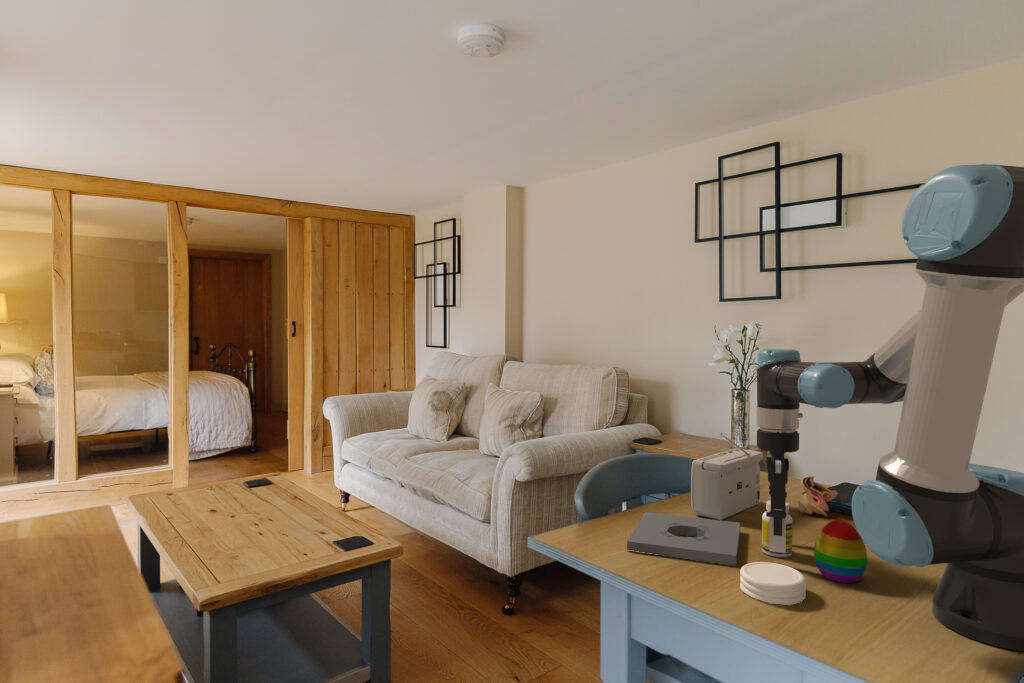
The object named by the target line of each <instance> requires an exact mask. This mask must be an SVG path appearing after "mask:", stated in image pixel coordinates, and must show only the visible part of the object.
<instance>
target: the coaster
mask: <svg viewBox="0 0 1024 683" xmlns="http://www.w3.org/2000/svg"><path fill="white" fill-rule="evenodd" d="M739 574H740V576H739V580H740V583H739V588H740V590H741V591H743V592H744V593H746V594H747V595H749V596H751V597H753V598H756V599H759V600H762V601H765V602H769V603H776V604H796V603H799V604H801V603H802V601H803V600H804V599H805V600H806V598H807V594H806V590H807V587H806V586H807V585H806V583H807V580H806V577H805V576H804V574H803V573H802V572H800V571H799V570H797V569H795V568H793V567H791V566H788V565H784V564H781V563H775V562H769V561H768V562H767V561H755V562H754V561H753V562H749V563H746V564H744V565H743V566H741V568H740V570H739ZM744 593H743V594H744ZM746 594H745V595H746ZM747 595H746V596H747ZM749 596H748V597H749ZM805 600H804V601H805ZM804 601H803V602H804ZM800 602H801V603H800ZM796 605H797V604H796Z"/></svg>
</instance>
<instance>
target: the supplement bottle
mask: <svg viewBox="0 0 1024 683" xmlns="http://www.w3.org/2000/svg"><path fill="white" fill-rule="evenodd" d="M765 504H766V505H765V509H766V511H764V512H763V513H762V515H761V552H763V553H764V554H765V555H766V556H770V557H774V558H775V557H776V558H789V557H791V555H792V553H793V518H792V516H791V515H790V514H789V512H790V511H789V510H790V509H789V508H790V507H789V506H790V504H789V503H788V502H786V551H785V553H779V552H771V551H769V537H770V517H766V512H770V511H771V500H769V499H768V500H767V501H766V502H765ZM774 510H781V509H774ZM781 511H782V510H781Z"/></svg>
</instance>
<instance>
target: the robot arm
mask: <svg viewBox="0 0 1024 683" xmlns="http://www.w3.org/2000/svg"><path fill="white" fill-rule="evenodd" d="M903 213H904V214H903V218H902V220H901V221H902V222H901V233H902V239H904V240H906V243H905V245H906V248H907V249H908V250H909V251H910V252H911V253H912V254H913V255H914V256H916V257H917V259H916V265H915V273H917V275H918V276H919V277H920V278H921V279H922V280H923V282H924V283H925V289H924V293H923V294H924V295H923V300H922V305H921V308H920V310H918V311H917V312H916V313H915V314H914V315H913V316H912V317H911V318H910V319H909V320H908V321H907V322H906V323H904V325H902V327H900V328H899V329H898V330H897V331H896V332H895V333H894V334H893V335H892V336H891V337H890V338H889V339H888V340H887V341H885V343H883V344H882V345H881V346H880V347H879V348H878V349H877V350H875V351H874V353H873V354H871V355H870V356H869V357H868V358H867V359H866V360H864V361H845V362H844V361H842V362H841V361H839V362H836V361H833V362H832V361H830V362H813V361H812V362H811V361H802V360H801V354H800V352H799V351H798V350H797V349H794V348H793V349H791V348H790V349H789V348H765V349H762V350H760V351H759V352H758V354H757V367H756V370H755V371H756V402H757V405H756V426H757V427H759V428H758V429H757V430H756V447H757V448H758V449H760V450H761V451H764V452H769V455H770V456H766V457H765V459H766V469H767V481H768V483H769V486H768V489H769V491H768V492H769V497H768V501H769V500H771V511H770V512H766V511H765V512H766V517H770V537H769V551H771V552H779V553H785V551H786V503H787V502H786V501H787V500H786V499H787V498H788V493H787V491H786V485H787V484H788V481H789V478H788V477H789V473H788V472H789V470H790V461H789V458H785V453H790V454H791V453H796V452H798V451H799V449H800V433H799V432H798V429H799V428H800V419H802V418H804V414H803V413H802V412H800V407H801V406H800V403H801V404H803V405H808V406H813V407H815V408H820V409H822V408H826V409H827V408H828V409H837V408H842V407H843V406H844V405H859V404H860V405H861V404H862V405H863V404H868V405H869V404H882V405H891V404H894V403H898V402H899V403H900V402H902V407H901V412H900V418H899V422H898V427H897V433H896V439H895V444H894V448H893V449H894V450H893V451H891V452H889V453H886V454H884V455H882V456H880V459H878V466H877V469H876V475H875V479H874V480H871V479H870V480H867V481H865V482H863V483H862V484H860V485H858V486H857V487H856V488H855V490H854V492H853V493H852V494H853V495H852V498H851V514H852V519H853V522H854V525H855V527H856V528H855V529H856V530H857V532H858V533H859V535H860V536H861V538H862V540H863V542H864V545H865V546H866V547H868V549H869V550H870V551H871V552H872V553H873V554H874V555H875V556H876V557H878V558H879V559H881V561H884V562H886V563H887V564H889V565H893V566H895V567H896V566H897V567H915V568H924V567H928V566H932V565H940V564H941V565H942V564H946V566H945V568H944V570H943V572H942V575H941V577H940V580H939V582H938V583H937V586H936V587H935V591H934V593H933V595H932V605H931V607H932V611H931V612H932V614H933V616H934V618H935V620H937V621H938V622H940V623H941V625H943V626H945V627H947V628H948V629H950V630H951V631H954V632H955V633H957V634H961V635H962V636H964V637H967V638H969V639H972V640H975V641H977V642H981V643H984V644H988V645H990V646H995V647H998V648H1003V649H1008V650H1012V651H1013V650H1014V651H1021V652H1024V472H1020V471H1017V470H1012V469H1011V470H1010V469H1006V468H1001V467H994V466H989V465H985V464H983V465H982V464H977V463H970V462H971V457H972V454H973V448H974V443H975V439H976V436H977V431H978V426H979V422H980V419H981V413H982V410H983V409H982V408H983V406H984V405H983V403H984V400H985V395H986V392H987V391H986V390H987V387H988V382H989V377H990V374H991V369H992V365H993V364H992V363H993V360H994V356H995V355H994V354H995V352H996V347H997V343H998V339H999V334H1000V330H1001V325H1002V321H1003V317H1004V312H1005V307H1007V306H1008V305H1010V304H1011V303H1012V302H1013V301H1014V300H1016V299H1017V298H1018V297H1019V296H1021V295H1022V294H1023V293H1024V166H1017V165H1016V166H1015V165H1004V164H1003V165H1002V164H995V163H991V164H989V163H979V164H962V165H961V164H960V165H955V166H950V167H948V168H945V169H942V170H941V171H938V172H936V173H935V174H933V175H932V176H930V177H929V179H927V181H926V182H925V183H923V184H921V185H919V187H918V188H917V189H916V191H915V192H914V193H913V195H912V196H911V197H910V199H909V201H908V204H906V207H905V211H904V212H903ZM774 509H781V510H782V511H781V510H774Z"/></svg>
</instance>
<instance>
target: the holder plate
mask: <svg viewBox="0 0 1024 683" xmlns="http://www.w3.org/2000/svg"><path fill="white" fill-rule="evenodd" d="M680 534H681V535H680ZM685 536H690V537H685ZM740 537H741V522H737V521H728V520H718V519H713V518H703V517H693V516H687V515H686V516H684V515H675V514H665V513H659V512H650V511H649V512H648V511H645V512H644V513H643V515H642V517H641V519H640V520H639V521H638V523H637V525H636V526H635V528H634V529H633V531H632V533H631V534H630V536H629V537H628V538H627V541H626V551H627V550H634V551H639V552H645V553H652V554H658V555H664V556H663V557H665V556H671V557H670V558H672V557H676V558H675V559H679V558H684V559H683V560H686V559H689V560H688V561H693V560H697V561H696V562H700V561H704V562H703V563H707V562H711V563H710V564H715V563H718V564H717V565H722V564H725V565H724V566H729V565H732V566H731V567H737V559H738V554H737V553H738V552H739V551H738V550H739V544H740Z"/></svg>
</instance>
